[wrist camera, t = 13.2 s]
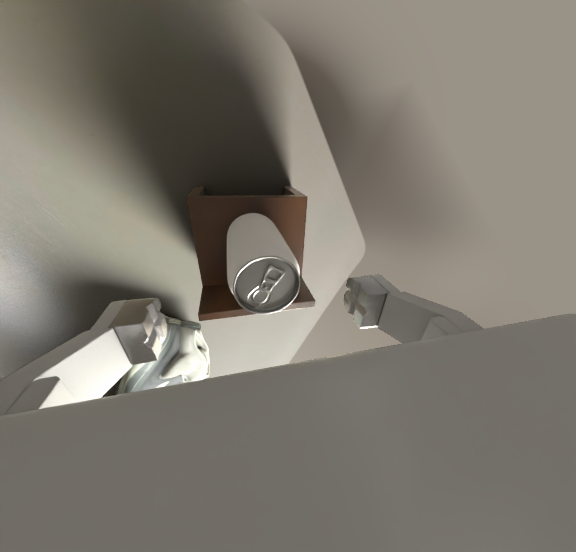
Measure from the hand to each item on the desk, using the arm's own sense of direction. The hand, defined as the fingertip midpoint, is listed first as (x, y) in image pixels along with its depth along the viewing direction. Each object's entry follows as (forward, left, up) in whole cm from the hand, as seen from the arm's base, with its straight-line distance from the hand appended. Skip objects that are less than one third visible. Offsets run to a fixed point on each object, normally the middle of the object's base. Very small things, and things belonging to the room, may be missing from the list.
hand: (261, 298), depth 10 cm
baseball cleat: (+17, +33, -28) cm, 46 cm away
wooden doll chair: (-1, +5, -27) cm, 28 cm away
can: (-1, +4, -20) cm, 20 cm away
